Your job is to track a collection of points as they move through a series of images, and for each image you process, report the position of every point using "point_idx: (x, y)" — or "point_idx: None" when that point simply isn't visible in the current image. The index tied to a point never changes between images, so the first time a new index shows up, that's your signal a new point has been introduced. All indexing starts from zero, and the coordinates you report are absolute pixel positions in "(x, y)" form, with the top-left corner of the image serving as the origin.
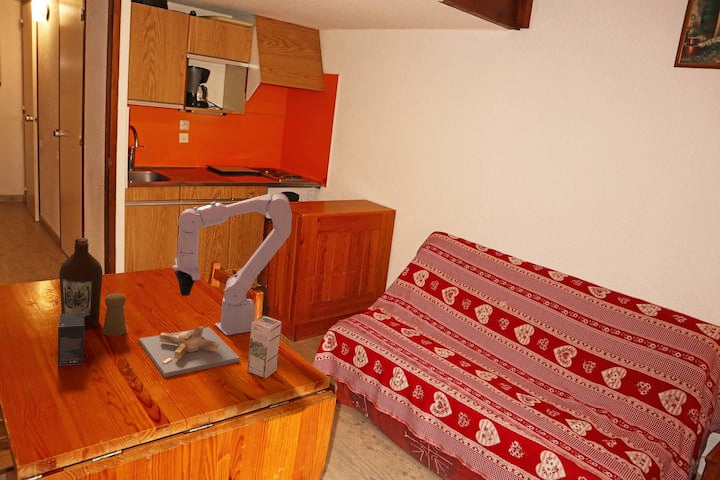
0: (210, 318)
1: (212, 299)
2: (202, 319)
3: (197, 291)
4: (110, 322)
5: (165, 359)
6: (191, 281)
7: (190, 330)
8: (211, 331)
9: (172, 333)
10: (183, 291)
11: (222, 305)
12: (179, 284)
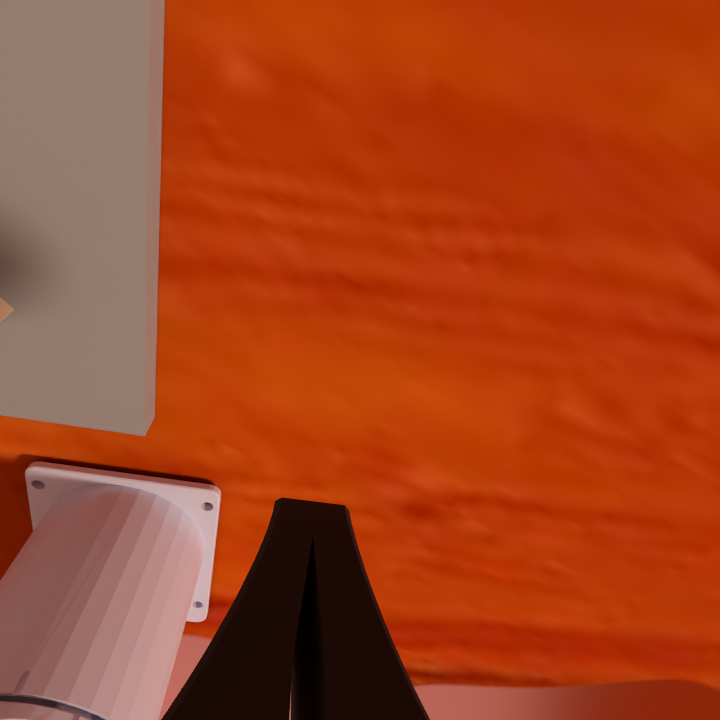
0: None
1: (549, 624)
2: (344, 469)
3: (696, 618)
4: None
5: None
6: None
7: (142, 298)
8: (63, 412)
9: (139, 126)
10: (256, 568)
11: (60, 659)
12: (366, 658)
